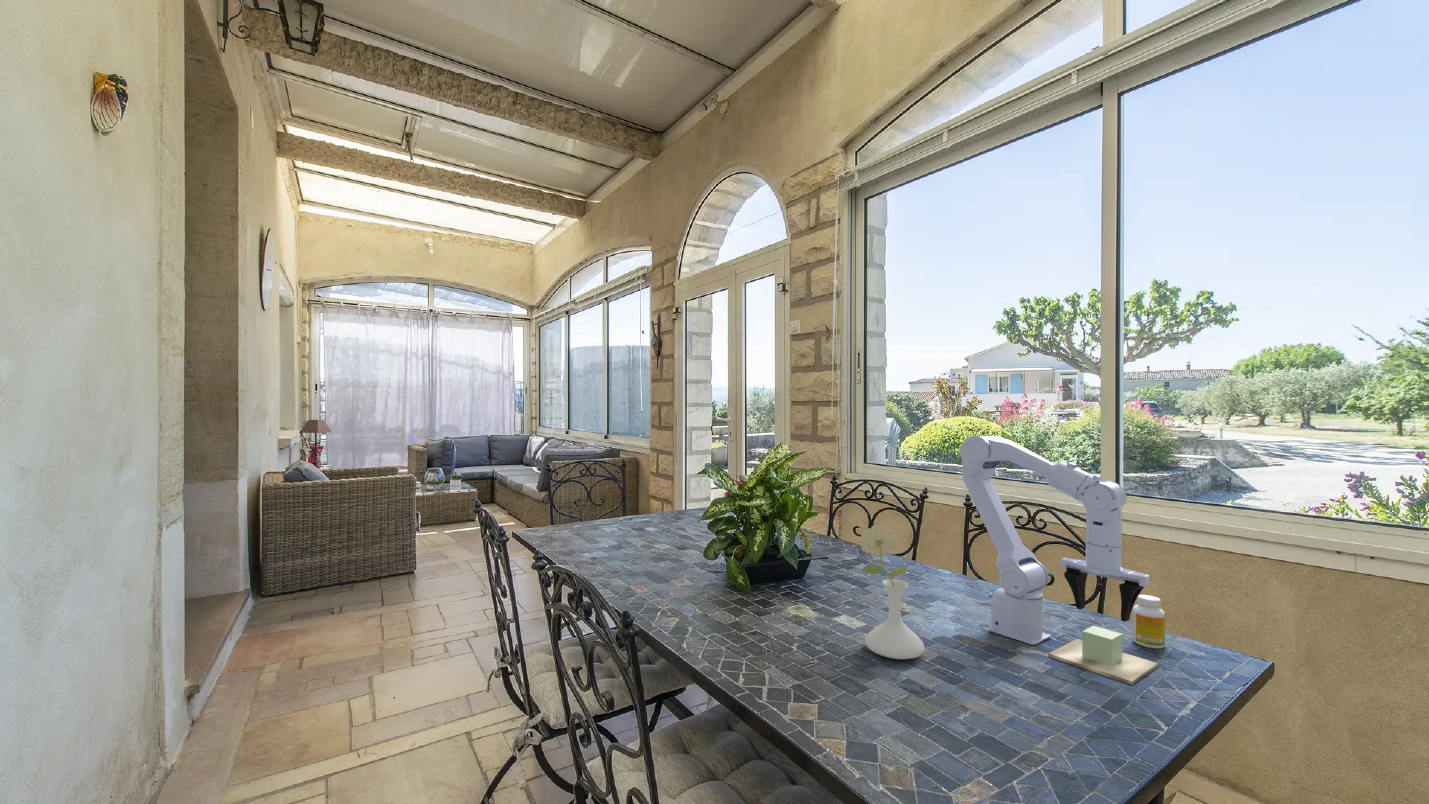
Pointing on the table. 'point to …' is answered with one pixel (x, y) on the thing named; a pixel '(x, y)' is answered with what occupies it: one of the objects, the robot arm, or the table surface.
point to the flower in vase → (893, 633)
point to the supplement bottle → (1149, 622)
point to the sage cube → (1102, 645)
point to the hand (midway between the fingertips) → (1102, 614)
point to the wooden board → (1123, 671)
